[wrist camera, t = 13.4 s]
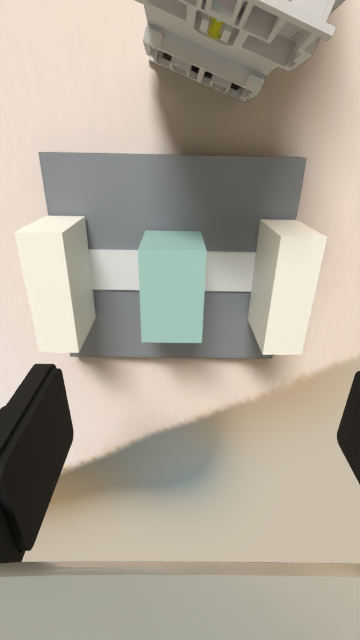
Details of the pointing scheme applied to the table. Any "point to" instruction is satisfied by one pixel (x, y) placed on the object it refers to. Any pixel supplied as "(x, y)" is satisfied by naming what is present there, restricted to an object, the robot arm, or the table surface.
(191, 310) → the block
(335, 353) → the table surface
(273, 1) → the circuit breaker
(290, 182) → the rail board
